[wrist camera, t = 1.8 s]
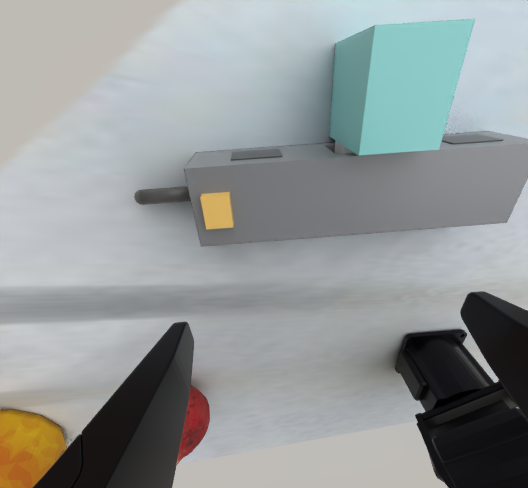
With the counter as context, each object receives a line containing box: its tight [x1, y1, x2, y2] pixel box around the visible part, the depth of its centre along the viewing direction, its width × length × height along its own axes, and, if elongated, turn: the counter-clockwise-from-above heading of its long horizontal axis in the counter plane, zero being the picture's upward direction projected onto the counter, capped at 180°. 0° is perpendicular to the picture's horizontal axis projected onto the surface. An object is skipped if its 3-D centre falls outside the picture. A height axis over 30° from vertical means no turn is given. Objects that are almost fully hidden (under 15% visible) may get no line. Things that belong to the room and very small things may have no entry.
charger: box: [329, 19, 475, 155], centre depth 15 cm, size 4×7×6 cm, turn 3°
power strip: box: [135, 131, 528, 246], centre depth 17 cm, size 24×5×5 cm, turn 93°
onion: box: [176, 386, 210, 465], centre depth 28 cm, size 6×6×8 cm
